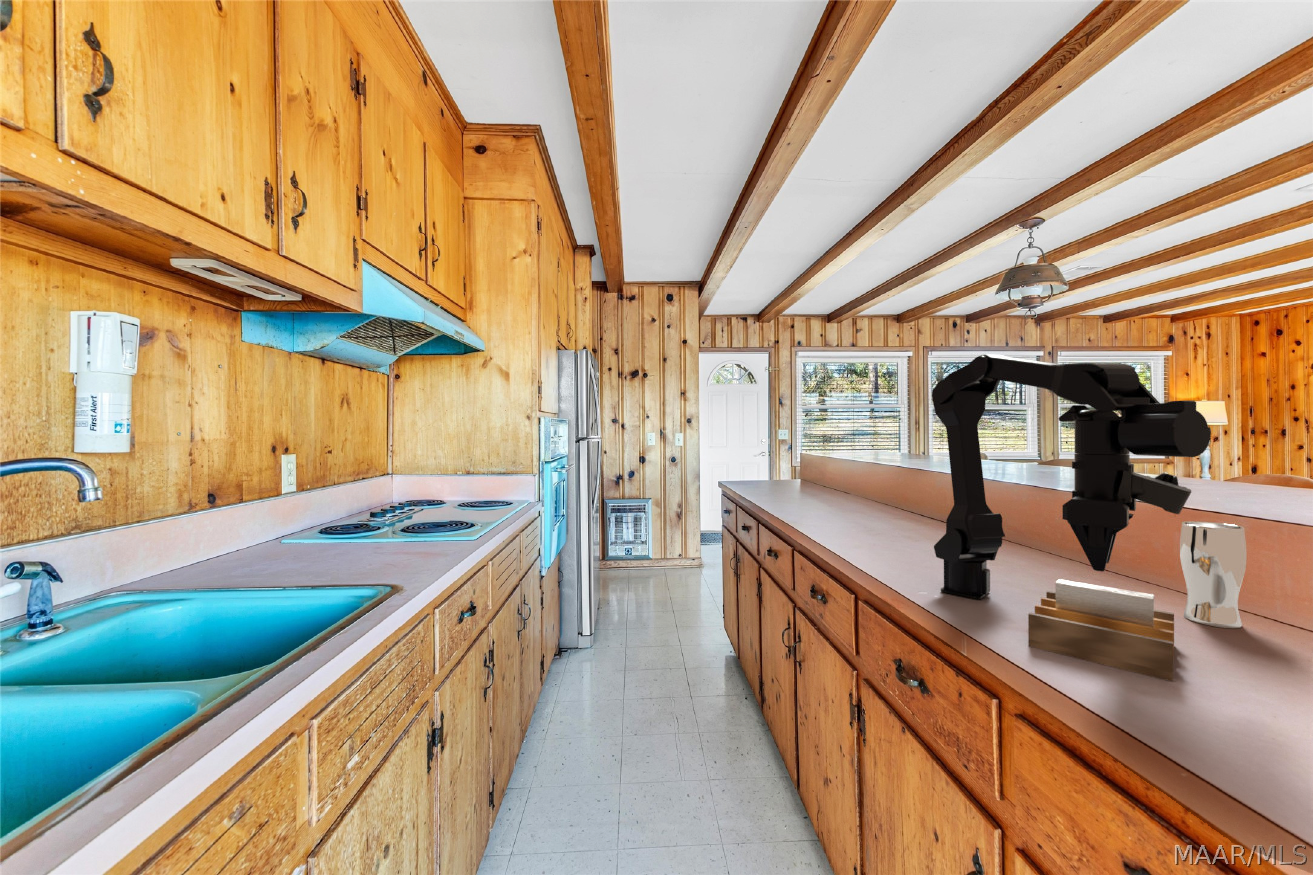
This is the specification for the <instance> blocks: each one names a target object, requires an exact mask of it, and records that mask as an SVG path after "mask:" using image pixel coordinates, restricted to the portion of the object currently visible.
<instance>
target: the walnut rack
mask: <svg viewBox="0 0 1313 875" xmlns="http://www.w3.org/2000/svg"><path fill="white" fill-rule="evenodd" d="M1045 596H1046V597H1041V598H1040V604H1035V605H1034V613H1033V612H1029V613H1028V614H1027V616H1028V622H1027V623H1028V624H1027V625H1028V629H1027V630H1028V633H1027V634H1028V635H1027V636H1028V641H1027V643H1028V647H1030V648H1033V649H1039V650H1042V651H1046V652H1051V653H1055V654H1059V655H1063V656H1067V657H1070V658H1076V659H1080V660H1083V661H1088V662H1091V663H1096V664H1098V665H1099V664H1100V665H1104V666H1108V667H1112V668H1116V669H1120V670H1124V671H1128V672H1133V673H1137V674H1141V675H1145V676H1149V677H1152V678H1156V679H1157V678H1158V679H1162V680H1165V681H1169V682H1174V657H1175V656H1174V655H1175V612H1169V611H1166V610H1165V611H1164V610H1159V609H1154V627H1149V626H1143V625H1138V624H1133V623H1128V622H1123V621H1118V620H1113V619H1108V618H1102V617H1097V616H1092V615H1087V614H1082V613H1077V612H1072V611H1067V610H1061V609H1056V591H1053V590H1051V591H1050V590H1046V595H1045Z"/></svg>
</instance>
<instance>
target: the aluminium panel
mask: <svg viewBox="0 0 1313 875" xmlns="http://www.w3.org/2000/svg"><path fill="white" fill-rule="evenodd" d="M1055 592H1056V609H1061V610H1067V611H1072V612H1077V613H1082V614H1087V615H1092V616H1097V617H1102V618H1108V619H1113V620H1118V621H1123V622H1128V623H1133V624H1138V625H1143V626H1149V627H1154V610H1155V594H1153V593H1146V592H1141V591H1140V592H1139V591H1133V590H1129V589H1121V588H1116V587H1110V586H1109V587H1108V586H1103V585H1096V584H1090V583H1086V582H1077V581H1072V580H1067V579H1061V578H1060V579H1059V578H1058V580H1056V581H1055Z"/></svg>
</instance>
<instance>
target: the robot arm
mask: <svg viewBox="0 0 1313 875" xmlns="http://www.w3.org/2000/svg"><path fill="white" fill-rule="evenodd" d="M1001 381H1003V382H1007V383H1008V382H1009V383H1012V384H1013V383H1014V384H1017V385H1018V384H1019V385H1025V386H1028V387H1036V388H1039V389H1040V388H1041V389H1045V390H1048V391H1050V392H1051V393H1053V394H1054V395H1055V396H1057V397H1059V398H1061V399H1064V400H1066V401H1069V402H1072V403H1074V405H1071V406H1070V408H1069V409H1068V410H1067V411H1065V412H1064V413H1063V414H1061V415H1060V416H1059V417H1058V421H1059V422H1063V423H1065V422H1074V458H1073V459H1074V460H1072V462H1071V468H1072V470H1073V471H1074V489H1073V490H1072V491H1071V499H1069V500H1067V501H1066V502H1065V503H1064V504H1062V520H1064V521H1067V523H1068V524H1069V525H1070V528H1071V529H1072V532H1073V534H1074V536H1076V539H1077V541H1078V544H1080V546H1081V548H1082V550H1083V552H1084V554H1085V556H1086V558H1087V560H1088V562H1089V564H1090V566H1091V568H1092V570H1093V571H1096V572H1101V573H1102V572H1105V570H1106V567H1107V564H1109V563H1110V560H1111V557H1112V552H1113V549H1114V546H1115V542H1116V538H1117V535H1118V533H1119V532H1120V531H1122V530H1124V529H1126V528H1127V527H1128V526H1129V524H1130V521H1129V520H1131V519H1132V518H1133V517H1134V515H1135V514H1134V513H1130V511H1131V512H1135V511H1136V510H1137V501H1140V502H1143V503H1145V504H1147V505H1148V504H1149V505H1152V506H1154V507H1157V508H1158V507H1159V508H1161V509H1162V510H1164V511H1165V512H1168V513H1172V514H1174V515H1180V513H1181V512H1182V510H1183V509H1184V506H1185V504H1186V502H1187V501H1188V499H1189V497H1190V496H1191V494H1192V489H1190V488H1188V487H1186V486H1182V485H1179V480H1178V476H1176V475H1173V474H1169V473H1166V472H1162V473H1160V474H1159V475H1157V476H1155V477H1151V476H1150V475H1145V474H1142V473H1141V474H1140V473H1137V472H1135V471H1134V470H1135V464H1134V463H1132V461H1131V460H1130V458H1131V457H1130V454H1132V455H1135V456H1147V457H1150V456H1151V457H1172V458H1173V457H1177V458H1196V457H1199V456H1200V455H1202V454H1203V453H1204V452H1205V451H1206V450H1207V448H1208V446H1209V444H1210V440H1211V437H1212V436H1211V435H1212V430H1211V427H1209V426H1208V425H1209V424H1208V422H1207V420H1206V418H1205V416H1204V415H1203V414H1202V413H1201V412H1199V411H1198V410H1197V401H1195V400H1171V401H1167V402H1161V403H1160V402H1159V400H1158V399H1157V398H1156V397H1155V396H1154V395H1153V394H1152V393H1151V392H1150V391H1149V389H1147V387H1146V386H1144V384H1143V383H1142V382H1141V381H1140V378H1139V374H1138V372H1136V369H1135V367H1134V366H1132V365H1130V364H1128V363H1127V364H1126V363H1110V362H1109V363H1107V362H1102V363H1101V362H1077V363H1075V362H1074V363H1062V364H1060V363H1053V362H1045V361H1039V360H1038V361H1037V360H1031V359H1023V358H1017V357H1016V358H1015V357H1009V356H1006V355H1003V354H981V355H979V356H977V357H975V358H974V359H972V360H971V361H970V362H969V363H968V364H966V365H964V366H961V367H960V368H959V369H956V370H955V371H952V372H951V373H949V374H948V375H946V376H945V377H944V378H943V379H941V380H939V381H938V382H937V383H936V385H935V387H934V388H932V391H931V399H932V403H933V404H932V405H933V408H934V411H935V415H936V416H937V417H938V419H939V421H941V423H942V424H943V426H944V427H945V430H946V440H947V447H948V448H947V449H948V456H949V457H948V458H949V466H950V476H951V486H952V495H953V496H952V497H953V506H952V508H951V509H950V512H949V514H948V515H947V518H946V520H945V521H946V522H945V523H946V524H945V526H946V527H945V533H944V534H943V536H942V537H941V538H940V539H939V540H938V541H937V542H936V543H935V544H934V545H933V550H934V554H935V557H936V558H938V559H941V560H943V587H941V588H940V592H941V593H946V594H951V595H955V596H961V597H965V598H971V599H973V600H974V599H976V600H982V599H983V598H984V597H985V596H987V595H988V594H989V593H991V570H990V569H989V568H987V563H988V562H987V561H990V562H991V561H995V559H996V557H997V554H998V551H999V549H1000V548H1001V547H1002V545H1003V538H1005V537H1006V534H1005V531H1004V527H1003V517H1002V515H1001V513H997V512H996V513H994V512H993V511H992V510H991V508H990V507H989V506H988V504H987V499H986V490H985V483H984V481H985V480H984V474H983V473H984V472H983V464H982V463H983V462H982V455H981V445H980V436H979V430H978V427H979V426H978V425H979V422H980V421H981V419H982V417H983V415H984V413H985V412H986V401H987V400H986V399H988V398H989V397H990V396H992V394H994V393H995V392H996V391H997V390H998V387H999V385H1000V383H1001ZM1075 404H1076V405H1075ZM1088 406H1090V407H1091V408H1093V409H1090V408H1088ZM1116 412H1121V413H1120V414H1121V415H1120V416H1119V414H1118V413H1116Z"/></svg>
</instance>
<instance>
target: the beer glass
mask: <svg viewBox="0 0 1313 875" xmlns="http://www.w3.org/2000/svg"><path fill="white" fill-rule="evenodd" d="M1245 529H1246V528H1245V527H1243V526H1240V525H1235V524H1231V523H1229V524H1228V523H1222V522H1220V523H1219V522H1213V521H1212V522H1211V521H1200V520H1199V521H1196V520H1195V521H1194V520H1193V521H1187V520H1185V521H1183V522H1181V529H1180V537H1179V557H1180V563H1181V564H1180V565H1181V568H1182V573H1183V577H1184V582H1185V586H1186V592H1187V597H1186V598H1187V599H1186V605H1185V608H1184V612H1183V617H1184V618H1185V619H1188V620H1189V621H1191V622H1195V623H1197V624H1201V625H1204V626H1210V627H1215V628H1221V629H1239V628H1242V625H1243V624H1242V620H1241V617H1240V616H1241V615H1240V612H1239V606H1238V604H1239V603H1238V602H1239V595H1240V590H1241V587H1242V584H1243V580H1244V576H1245V573H1246V568H1247V567H1246V566H1247V555H1248V554H1247V542H1246V541H1247V540H1246V534H1245Z"/></svg>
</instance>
